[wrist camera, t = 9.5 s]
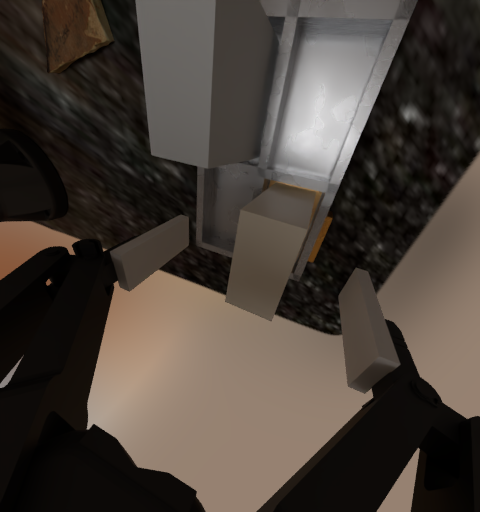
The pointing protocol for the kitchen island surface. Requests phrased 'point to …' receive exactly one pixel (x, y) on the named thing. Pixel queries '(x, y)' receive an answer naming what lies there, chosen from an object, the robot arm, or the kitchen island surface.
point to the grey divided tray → (307, 113)
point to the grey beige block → (268, 247)
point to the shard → (73, 31)
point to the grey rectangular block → (206, 78)
